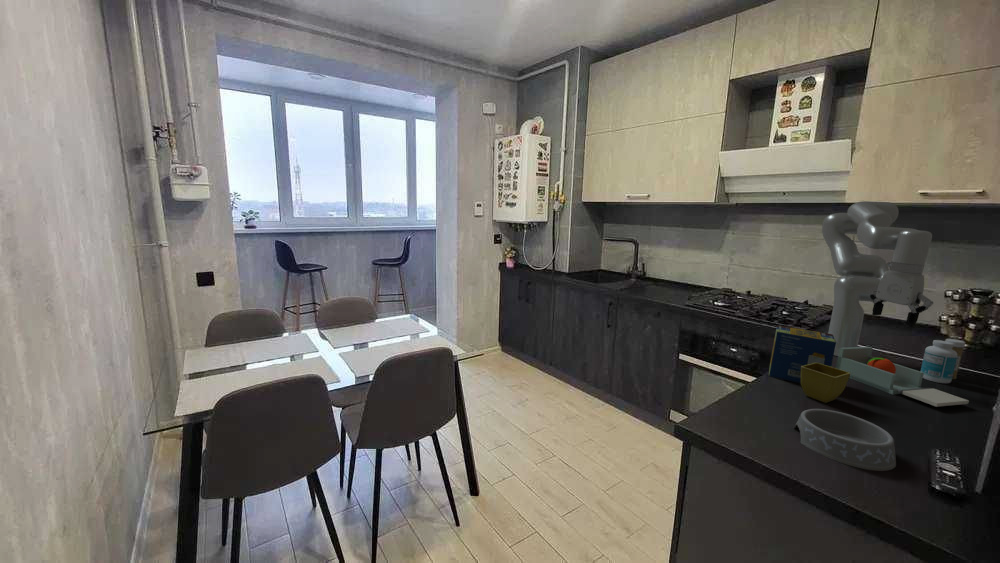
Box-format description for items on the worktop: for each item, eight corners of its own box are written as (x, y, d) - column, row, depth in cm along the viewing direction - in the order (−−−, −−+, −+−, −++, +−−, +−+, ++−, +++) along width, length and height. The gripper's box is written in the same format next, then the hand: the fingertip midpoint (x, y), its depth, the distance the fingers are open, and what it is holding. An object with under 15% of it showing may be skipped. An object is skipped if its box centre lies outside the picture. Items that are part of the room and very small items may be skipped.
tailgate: (898, 389, 121) (936, 403, 112) (929, 386, 124) (969, 400, 115) (897, 392, 121) (935, 406, 112) (929, 389, 124) (968, 403, 116)
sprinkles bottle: (957, 378, 140) (966, 341, 137) (954, 380, 137) (964, 343, 135) (938, 373, 143) (947, 337, 141) (935, 375, 141) (944, 339, 139)
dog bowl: (806, 456, 87) (811, 433, 86) (786, 419, 103) (790, 399, 102) (910, 481, 80) (916, 457, 79) (871, 437, 97) (875, 416, 96)
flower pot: (829, 407, 111) (835, 377, 109) (794, 394, 118) (800, 365, 117) (845, 402, 115) (851, 372, 113) (810, 390, 122) (815, 362, 121)
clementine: (872, 381, 129) (877, 360, 128) (856, 372, 136) (860, 352, 135) (899, 383, 128) (904, 362, 127) (881, 375, 135) (886, 355, 134)
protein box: (769, 367, 140) (776, 324, 138) (824, 379, 132) (833, 334, 129) (768, 376, 132) (775, 331, 129) (827, 389, 123) (837, 341, 121)
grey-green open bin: (834, 372, 139) (839, 347, 137) (863, 370, 142) (868, 346, 140) (892, 394, 122) (898, 366, 121) (923, 392, 126) (930, 364, 124)
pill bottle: (943, 378, 139) (952, 341, 136) (956, 386, 132) (966, 347, 130) (914, 373, 142) (923, 337, 139) (925, 381, 135) (935, 342, 133)
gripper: (867, 263, 136) (856, 312, 140) (931, 274, 120) (916, 328, 123) (884, 263, 138) (872, 311, 142) (949, 274, 121) (933, 327, 125)
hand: (892, 319), depth 132 cm, fingers open, 9 cm apart
